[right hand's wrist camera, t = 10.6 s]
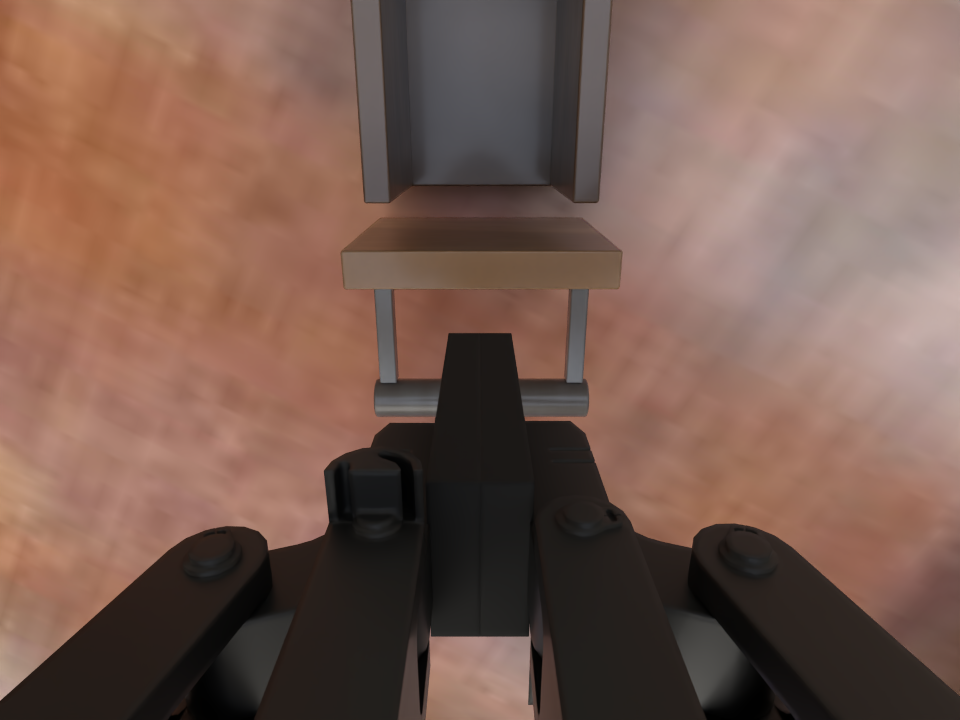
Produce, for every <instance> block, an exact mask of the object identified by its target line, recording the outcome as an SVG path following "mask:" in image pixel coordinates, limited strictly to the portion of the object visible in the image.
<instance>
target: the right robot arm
mask: <svg viewBox="0 0 960 720" xmlns="http://www.w3.org/2000/svg"><path fill="white" fill-rule="evenodd" d="M324 476H325V486H326V495H327V505H328V514H329V525H328V527H327V530H326V533H325V535H323V536H321V537H318V538H316V539H314V540H312V541H308V542H305V543H301V544H298V545H293V546H288V547H284V548H279V549H274V550H269V551H268V545H267V540H266V539H265V538H264V537H263V536H262V535H261V534H260V533H259V532H258V531H255V530H252V529H249V528H246V527H233V526H225V527H219V528H213V529H209V530H205V531H203V532H200V533H198V534H195V535H193V536H191V537H188V538H186V539H184V540H183V541H181V542H180V543H178V544H177V545H176V546H174V547H173V548H171V549H170V550H168V551H167V552H166V553H165V554H164V555H163V556H162V557H161V558H160V559H158V560H157V561H156V562H155V563H154V564H153V565H152V566H151V567H149V568H148V569H147V570H146V571H145V572H144V573H143V574H142V575H141V576H139V577H138V578H137V579H136V580H135V581H134V582H133V583H132V584H130V585H129V586H128V587H127V588H126V589H125V590H124V591H123V592H121V593H120V594H119V595H118V596H117V597H116V598H115V599H114V600H113V601H111V602H110V603H109V604H108V605H107V606H106V607H105V608H104V609H102V610H101V611H100V612H99V613H98V614H97V615H96V616H95V617H94V618H92V619H91V620H90V621H89V622H88V623H87V624H86V625H85V626H83V627H82V628H81V629H80V630H79V631H78V632H77V633H76V634H75V635H73V636H72V637H71V638H70V639H69V640H68V641H67V642H66V643H64V644H63V645H62V646H61V647H60V648H59V649H58V650H57V651H55V652H54V653H53V654H52V655H51V656H50V657H49V658H48V659H47V660H45V661H44V662H43V663H42V664H41V665H40V666H39V667H38V668H36V669H35V670H34V671H33V672H32V673H31V674H30V675H29V676H28V677H26V678H25V679H24V680H23V681H22V682H21V683H20V684H19V685H17V686H16V687H15V688H14V689H13V690H12V691H11V692H10V693H9V694H7V695H6V696H5V697H4V698H3V699H2V700H1V701H0V720H425V718H426V707H427V696H428V685H429V674H430V648H429V636H430V626H431V636H529V623H530V633H531V648H530V673H529V699H528V705H533V706H534V718H535V720H960V696H959V695H958V694H957V693H955V692H954V691H953V690H952V689H951V688H950V687H949V686H948V685H946V684H945V683H944V682H943V681H942V680H941V679H940V678H939V677H937V676H936V675H935V674H934V673H933V672H932V671H931V670H930V669H928V668H927V667H926V666H925V665H924V664H923V663H922V662H920V661H919V660H918V659H917V658H916V657H915V656H914V655H913V654H911V653H910V652H909V651H908V650H907V649H906V648H905V647H904V646H902V645H901V644H900V643H899V642H898V641H897V640H896V639H895V638H893V637H892V636H891V635H890V634H889V633H888V632H887V631H886V630H884V629H883V628H882V627H881V626H880V625H879V624H878V623H877V622H875V621H874V620H873V619H872V618H871V617H870V616H869V615H867V614H866V613H865V612H864V611H863V610H862V609H861V608H860V607H858V606H857V605H856V604H855V603H854V602H853V601H852V600H851V599H849V598H848V597H847V596H846V595H845V594H844V593H843V592H842V591H840V590H839V589H838V588H837V587H836V586H835V585H834V584H833V583H831V582H830V581H829V580H828V579H827V578H826V577H825V576H824V575H822V574H821V573H820V572H819V571H818V570H817V569H816V568H814V567H813V566H812V565H811V564H810V563H809V562H808V561H807V560H805V559H804V558H803V557H802V556H801V555H800V554H799V553H798V552H796V551H795V550H794V549H793V548H792V547H791V546H789V545H788V544H786V543H785V542H783V541H782V540H780V539H779V538H777V537H776V536H774V535H772V534H769V533H767V532H764V531H762V530H760V529H757V528H754V527H750V526H744V525H739V524H715V525H712V526H709V527H706V528H703V529H701V530H700V531H699V533H698V534H697V535H696V536H695V537H694V538H693V545H692V548H689V547H684V546H679V545H674V544H670V543H665V542H661V541H657V540H654V539H650V538H647V537H645V536H643V535H641V534H638V533H636V532H634V529H633V527H632V524H631V522H630V520H629V519H628V517H627V516H626V515H625V513H624V512H623V511H622V510H621V509H619V508H618V507H616V506H615V505H613V504H612V503H610V502H609V500H608V497H607V494H606V491H605V488H604V486H603V483H602V480H601V477H600V474H599V471H598V468H597V466H596V463H595V460H594V457H593V454H592V451H590V446H589V443H588V440H587V437H586V434H585V433H584V432H583V431H582V430H580V429H579V428H578V427H577V426H576V425H574V424H573V423H572V422H571V421H525V418H524V412H523V405H522V399H521V392H520V386H519V380H518V373H517V367H516V360H515V354H514V348H513V341H512V335H511V333H449V335H448V341H447V348H446V354H445V360H444V367H443V373H442V380H441V386H440V392H439V399H438V405H437V412H436V418H435V423H389V424H388V425H387V426H386V427H384V428H383V429H382V430H381V431H380V432H378V433H377V434H376V435H375V437H374V440H373V442H372V445H371V448H362V449H359V450H355V451H352V452H348V453H345V454H344V455H342V456H340V457H338V458H337V459H335V460H333V461H332V462H331V463H330V464H329V465H328V466H327V468H326V469H325V470H324Z"/></svg>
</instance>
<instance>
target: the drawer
mask: <svg viewBox="0 0 960 720" xmlns="http://www.w3.org/2000/svg"><path fill="white" fill-rule="evenodd" d="M612 2H613V0H351V14H352V29H353V44H354V58H355V73H356V88H357V103H358V118H359V133H360V148H361V162H362V177H363V192H364V202H365V203H390V202H392V201H393V200H394V199H395V198H397V197H398V196H399V195H401V194H402V193H403V192H405V191H406V190H407V189H408V188H410V187H411V186H552V187H553V188H555V189H556V190H557V191H559V192H560V193H561V194H563V195H564V196H565V197H567V198H568V199H569V200H571V201H572V202H574V203H597V202H598V201H599V194H600V179H601V164H602V149H603V135H604V120H605V105H606V90H607V76H608V61H609V46H610V31H611V17H612ZM341 262H342V274H343V286H344V289H374V295H375V310H376V326H377V341H378V357H379V372H380V379H377V380H376V383H375V388H374V409H375V414H376V416H377V417H436V412H437V405H438V399H439V392H440V386H441V380H442V379H398V357H397V338H396V319H395V300H394V289H569V299H568V318H567V336H566V355H565V374H564V377H565V379H518V380H519V386H520V392H521V399H522V405H523V412H524V417H585V416H587V413H588V408H589V389H588V383H587V381H586V379H583V370H584V355H585V340H586V324H587V309H588V294H589V289H619V287H620V277H621V265H622V251H621V250H620V249H619V248H618V247H617V246H615V245H614V244H613V243H612V242H611V241H609V240H608V239H607V238H606V237H605V236H603V235H602V234H601V233H600V232H599V231H597V230H596V229H595V228H594V227H593V226H591V225H590V224H589V223H588V222H587V221H585V220H584V219H583V218H380V219H378V220H377V221H376V222H375V223H374V224H373V225H371V226H370V227H369V228H368V229H367V230H366V231H364V232H363V233H362V234H361V235H360V236H358V237H357V238H356V239H355V240H354V241H353V242H351V243H350V244H349V245H348V246H347V247H346V248H344V249H343V250H342V251H341Z"/></svg>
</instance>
